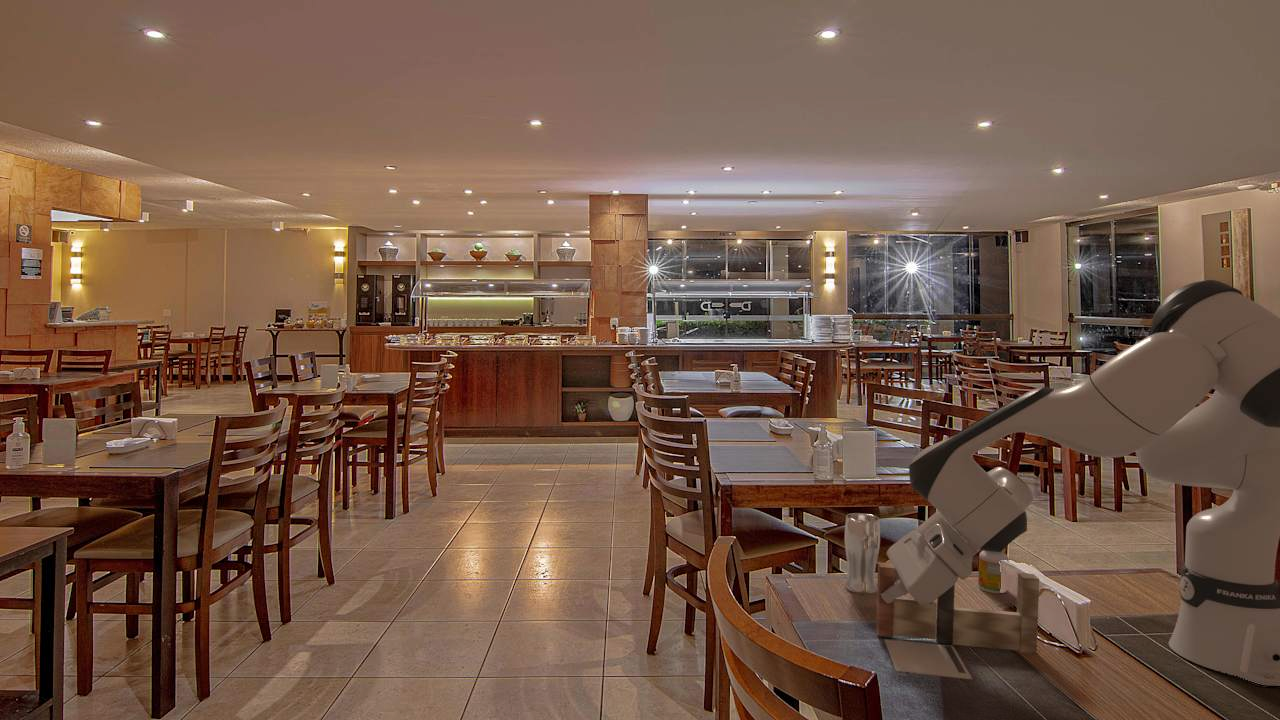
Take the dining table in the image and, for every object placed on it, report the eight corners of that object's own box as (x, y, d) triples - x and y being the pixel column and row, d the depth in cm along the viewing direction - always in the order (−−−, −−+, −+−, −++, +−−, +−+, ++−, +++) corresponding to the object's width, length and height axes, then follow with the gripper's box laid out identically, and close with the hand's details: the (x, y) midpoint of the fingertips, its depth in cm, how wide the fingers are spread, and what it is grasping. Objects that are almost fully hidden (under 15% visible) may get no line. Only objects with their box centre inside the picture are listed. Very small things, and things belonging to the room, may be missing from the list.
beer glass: (881, 596, 134) (883, 523, 134) (845, 593, 136) (846, 520, 135) (876, 584, 141) (877, 513, 140) (841, 581, 143) (843, 511, 142)
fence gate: (932, 634, 116) (935, 566, 116) (936, 640, 114) (938, 571, 113) (876, 629, 118) (878, 562, 118) (878, 635, 116) (880, 567, 115)
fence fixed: (1030, 646, 113) (1033, 573, 113) (1036, 654, 111) (1039, 579, 110) (934, 638, 116) (936, 566, 116) (938, 644, 114) (940, 571, 113)
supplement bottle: (978, 582, 143) (979, 537, 142) (1006, 587, 140) (1008, 541, 140) (978, 591, 138) (979, 544, 137) (1008, 596, 135) (1009, 548, 135)
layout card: (953, 647, 113) (953, 645, 113) (971, 679, 102) (971, 677, 102) (884, 640, 115) (884, 639, 115) (896, 671, 104) (896, 670, 104)
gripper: (916, 513, 125) (860, 561, 127) (945, 547, 105) (878, 603, 107) (940, 538, 124) (884, 586, 126) (975, 578, 104) (907, 633, 106)
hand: (881, 594), depth 116 cm, fingers closed on fence gate, 2 cm apart
